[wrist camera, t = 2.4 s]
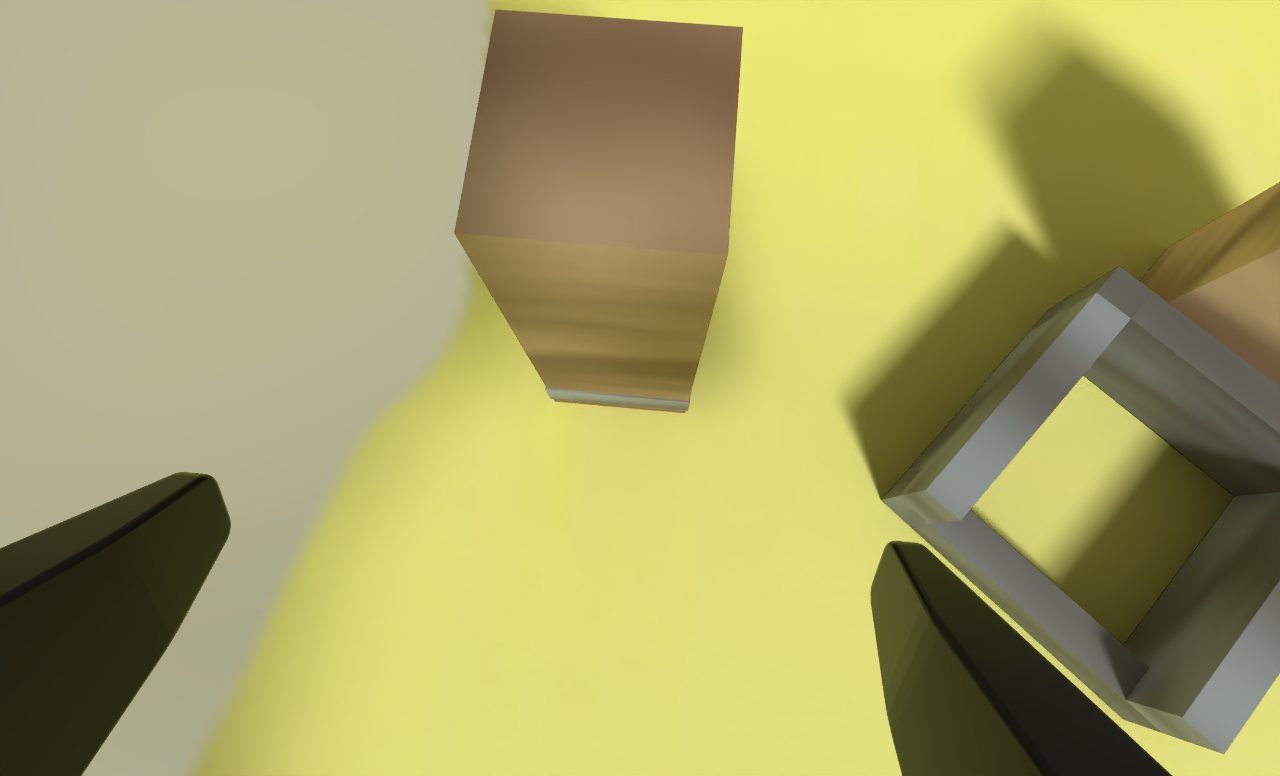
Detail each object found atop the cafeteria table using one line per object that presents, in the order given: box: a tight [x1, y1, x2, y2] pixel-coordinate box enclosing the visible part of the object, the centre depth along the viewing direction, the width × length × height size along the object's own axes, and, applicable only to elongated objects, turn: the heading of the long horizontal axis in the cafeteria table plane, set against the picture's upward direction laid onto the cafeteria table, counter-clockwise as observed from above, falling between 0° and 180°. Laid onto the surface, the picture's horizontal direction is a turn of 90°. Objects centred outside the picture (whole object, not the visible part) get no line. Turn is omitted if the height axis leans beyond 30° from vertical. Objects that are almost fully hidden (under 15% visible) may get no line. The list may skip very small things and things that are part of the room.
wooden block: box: [455, 10, 743, 413], centre depth 17 cm, size 5×5×12 cm
